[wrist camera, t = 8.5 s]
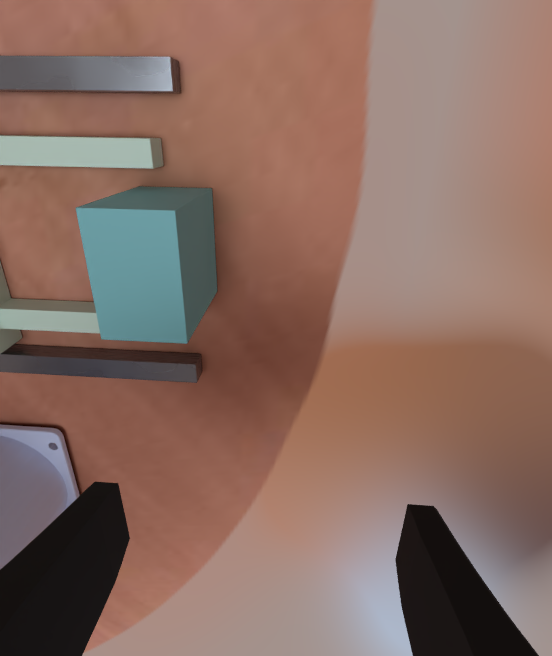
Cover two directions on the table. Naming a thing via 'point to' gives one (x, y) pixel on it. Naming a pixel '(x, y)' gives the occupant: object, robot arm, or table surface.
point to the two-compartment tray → (123, 249)
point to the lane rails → (99, 78)
